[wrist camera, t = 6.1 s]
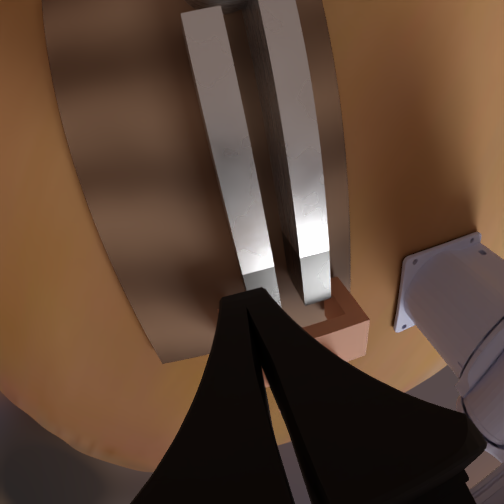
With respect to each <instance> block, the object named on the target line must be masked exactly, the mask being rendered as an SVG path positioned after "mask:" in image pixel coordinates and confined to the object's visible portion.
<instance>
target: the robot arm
mask: <svg viewBox="0 0 504 504" xmlns="http://www.w3.org/2000/svg"><path fill="white" fill-rule="evenodd" d="M480 241H481V233H479V232H474V233H472V234H469V235H466V236H463V237H461V238H458V239H455V240H452V241H450V242H447V243H444V244H441V245H438V246H435V247H433V248H430V249H427V250H424V251H421V252H418V253H415V254H412V255H409V256H407V257H406V258H405V259H404V260H403V265H402V274H401V282H400V290H399V297H398V304H397V310H396V316H395V322H394V331H395V332H400V331H403V330H405V329H407V328H410V327H412V326H414V325H416V326H417V327H418V328H419V330H420V331H421V332H422V333H423V334H424V336H425V337H426V338H427V339H428V341H429V342H430V343H431V344H432V345H433V347H434V348H435V349H436V350H437V352H438V353H439V354H440V355H441V357H442V358H443V359H444V360H445V362H446V363H447V364H448V366H449V367H450V368H451V369H452V371H453V372H454V373H455V375H456V376H457V377H458V378H459V381H458V382H457V384H456V385H455V388H456V390H457V391H458V393H459V394H460V395H459V397H458V398H457V402H456V409H457V411H453V410H450V409H447V408H444V407H441V406H438V405H435V404H432V403H429V402H426V401H423V400H420V399H418V398H416V397H413V396H411V395H408V394H406V393H403V392H401V391H399V390H397V389H395V388H393V387H391V386H389V385H387V384H385V383H383V382H381V381H379V380H377V379H375V378H373V377H371V376H369V375H367V374H366V373H364V372H362V371H361V370H359V369H357V368H355V367H354V366H352V365H351V364H349V363H348V362H346V361H344V360H343V359H341V358H340V357H338V356H337V355H336V354H334V353H333V352H331V351H330V350H329V349H327V348H326V347H325V346H323V345H322V344H321V343H320V342H318V341H317V340H316V339H315V338H313V337H312V336H311V335H310V334H309V333H307V332H306V331H305V330H304V329H303V328H302V327H301V326H300V325H298V324H297V323H296V322H295V321H294V320H293V319H292V318H291V317H290V316H289V315H288V314H287V313H286V312H285V311H284V310H283V309H282V308H281V307H280V306H279V305H278V304H277V302H276V301H275V300H274V299H273V298H272V297H271V295H270V294H269V293H268V291H267V290H266V289H265V288H263V287H260V288H256V289H252V290H248V291H244V292H240V293H237V294H233V295H229V296H225V297H222V298H221V299H220V301H219V313H218V320H217V325H216V331H215V335H214V339H213V343H212V347H211V351H210V355H209V358H208V361H207V364H206V367H205V370H204V373H203V376H202V379H201V382H200V385H199V387H198V390H197V392H196V395H195V397H194V400H193V402H192V404H191V407H190V409H189V411H188V413H187V415H186V417H185V419H184V421H183V423H182V425H181V427H180V429H179V431H178V433H177V435H176V437H175V439H174V440H173V442H172V444H171V445H170V447H169V449H168V450H167V452H166V454H165V455H164V457H163V458H162V460H161V462H160V463H159V465H158V466H157V468H156V470H155V471H154V473H153V474H152V476H151V477H150V479H149V480H148V481H147V482H146V484H145V485H144V486H143V488H142V489H141V490H140V492H139V493H138V494H137V496H136V497H135V498H134V500H133V501H132V502H131V503H130V504H295V502H294V499H293V496H292V492H291V489H290V486H289V483H288V479H287V477H286V473H285V470H284V466H283V463H282V460H281V456H280V453H279V450H278V446H277V443H276V439H275V435H274V431H273V427H272V421H271V416H270V410H269V405H268V399H267V394H266V388H265V383H264V377H263V371H264V374H265V376H266V379H267V381H268V383H269V386H270V388H271V391H272V393H273V396H274V398H275V400H276V403H277V405H278V407H279V410H280V412H281V415H282V417H283V419H284V422H285V424H286V427H287V429H288V432H289V435H290V438H291V441H292V444H293V447H294V450H295V454H296V457H297V460H298V463H299V466H300V469H301V472H302V476H303V479H304V482H305V485H306V488H307V491H308V494H309V498H310V501H311V504H504V260H503V259H502V258H501V257H499V256H498V255H497V254H495V253H494V252H492V251H491V250H490V249H488V248H487V247H486V246H484V245H483V244H481V243H480ZM262 369H263V371H262ZM483 451H487V452H489V453H490V454H491V455H493V456H494V457H495V458H496V459H498V460H499V461H500V462H501V463H502V464H501V465H500V466H499V467H497V468H496V469H495V470H494V471H493V472H491V473H490V474H489V475H488V476H486V477H485V478H484V479H483V480H481V481H480V482H478V483H477V484H476V485H474V486H473V487H472V488H470V489H468V487H467V485H466V483H465V482H467V481H468V480H469V477H468V475H467V473H466V472H465V470H464V469H465V468H466V467H467V466H468V465H469V464H471V462H473V461H474V460H475V459H476V458H477V457H478V456H479V455H480V454H482V452H483Z"/></svg>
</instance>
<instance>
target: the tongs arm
mask: <svg viewBox="0 0 504 504" xmlns="http://www.w3.org/2000/svg"><path fill="white" fill-rule="evenodd" d="M181 23H182V32H183V36H184V41H185V45H186V50H187V54H188V59H189V63H190V67H191V72H192V76H193V81H194V85H195V89H196V94H197V98H198V102H199V107H200V111H201V115H202V119H203V124H204V128H205V132H206V136H207V140H208V145H209V149H210V153H211V157H212V161H213V165H214V169H215V174H216V178H217V182H218V186H219V190H220V194H221V198H222V202H223V206H224V210H225V214H226V218H227V222H228V226H229V230H230V234H231V238H232V242H233V246H234V250H235V254H236V258H237V261H238V265H239V269H240V273H241V277H242V281H243V285H244V289H245V291H248V290H252V289H256V288H260V287H263V288H265V289H266V290H267V291H268V293H269V294H270V295H271V297H272V298H273V299H274V300H275V301H276V302H277V304H278V305H279V306H280V307H281V301H280V296H279V290H278V284H277V279H276V273H275V268H274V262H273V257H272V252H271V246H270V241H269V236H268V230H267V225H266V220H265V215H264V209H263V204H262V199H261V194H260V189H259V184H258V178H257V173H256V168H255V163H254V158H253V153H252V148H251V143H250V139H249V134H248V129H247V124H246V119H245V114H244V110H243V105H242V100H241V95H240V91H239V86H238V81H237V76H236V72H235V67H234V63H233V58H232V54H231V49H230V44H229V40H228V35H227V31H226V27H225V22H224V18H223V13H222V9H221V6H215V7H210V8H204V9H199V10H194V11H189V12H185V13H181ZM281 308H282V307H281Z"/></svg>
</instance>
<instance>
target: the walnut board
mask: <svg viewBox="0 0 504 504" xmlns="http://www.w3.org/2000/svg"><path fill="white" fill-rule="evenodd" d="M295 1H296V5H297V10H298V14H299V19H300V24H301V28H302V33H303V38H304V44H305V49H306V54H307V60H308V65H309V71H310V77H311V83H312V90H313V96H314V103H315V110H316V117H317V124H318V132H319V140H320V148H321V157H322V166H323V176H324V186H325V197H326V209H327V223H328V238H329V256H330V278H333V277H338V278H339V279H340V280H341V282H342V283H343V284H344V286H345V287H346V288H347V290H348V291H349V292H350V217H349V195H348V179H347V165H346V153H345V142H344V132H343V123H342V114H341V106H340V98H339V91H338V84H337V77H336V71H335V65H334V59H333V53H332V48H331V42H330V37H329V32H328V27H327V22H326V17H325V13H324V8H323V4H322V0H295ZM194 10H197V9H195V8H193V7H191V6H190V5H189V4H187V3H186V1H185V0H42V11H43V21H44V30H45V38H46V45H47V52H48V58H49V64H50V70H51V75H52V80H53V85H54V90H55V95H56V99H57V104H58V108H59V112H60V116H61V120H62V124H63V128H64V132H65V135H66V139H67V142H68V146H69V149H70V153H71V156H72V159H73V163H74V166H75V169H76V172H77V175H78V178H79V181H80V184H81V187H82V190H83V193H84V196H85V199H86V201H87V204H88V207H89V210H90V212H91V215H92V218H93V220H94V223H95V225H96V228H97V230H98V233H99V235H100V238H101V240H102V243H103V245H104V247H105V250H106V252H107V255H108V257H109V259H110V261H111V264H112V266H113V268H114V270H115V273H116V275H117V277H118V279H119V281H120V283H121V286H122V288H123V290H124V292H125V294H126V296H127V298H128V300H129V302H130V304H131V306H132V308H133V310H134V312H135V314H136V316H137V318H138V320H139V322H140V324H141V326H142V328H143V330H144V331H145V333H146V335H147V337H148V339H149V341H150V342H151V344H152V346H153V348H154V350H155V351H156V353H157V355H158V357H159V358H160V360H161V362H162V364H164V363H169V362H174V361H179V360H184V359H189V358H193V357H198V356H202V355H207V354H210V351H211V347H212V343H213V339H214V335H215V331H216V325H217V320H218V309H219V301H220V299H221V298H222V297H225V296H229V295H233V294H237V293H240V292H244V291H245V289H244V285H243V281H242V277H241V273H240V269H239V265H238V261H237V258H236V254H235V250H234V246H233V242H232V238H231V234H230V230H229V226H228V222H227V218H226V214H225V210H224V206H223V202H222V198H221V194H220V190H219V186H218V182H217V178H216V174H215V169H214V165H213V161H212V157H211V153H210V149H209V145H208V140H207V136H206V132H205V128H204V124H203V119H202V115H201V111H200V107H199V102H198V98H197V94H196V89H195V85H194V81H193V76H192V72H191V67H190V63H189V59H188V54H187V50H186V45H185V41H184V36H183V32H182V23H181V13H185V12H189V11H194ZM223 18H224V22H225V27H226V31H227V35H228V40H229V44H230V49H231V54H232V58H233V63H234V67H235V72H236V76H237V81H238V86H239V91H240V95H241V100H242V105H243V110H244V114H245V119H246V124H247V129H248V134H249V139H250V143H251V148H252V153H253V158H254V163H255V168H256V173H257V178H258V184H259V189H260V194H261V199H262V204H263V209H264V215H265V220H266V225H267V230H268V236H269V241H270V246H271V252H272V257H273V262H274V268H275V273H276V279H277V284H278V290H279V296H280V301H281V307H282V309H283V310H284V311H285V312H286V313H287V314H288V315H289V316H290V317H291V318H292V319H293V320H294V321H295V322H296V323H297V324H298V325H300V326H301V327H302V328H303V327H306V326H309V325H313V324H316V323H319V322H322V321H325V320H327V318H326V317H325V312H324V301H320V302H317V303H314V304H310V305H307V306H305V305H304V303H303V301H302V300H301V298H300V296H299V294H298V292H297V290H296V289H295V287H294V285H293V283H292V281H291V279H290V277H289V276H288V273H287V265H286V258H285V251H284V244H283V237H282V231H281V224H280V217H279V211H278V204H277V198H276V192H275V185H274V179H273V173H272V167H271V161H270V155H269V149H268V143H267V137H266V132H265V126H264V120H263V115H262V109H261V104H260V98H259V93H258V87H257V82H256V77H255V72H254V67H253V61H252V56H251V51H250V46H249V41H248V37H247V32H246V27H245V22H244V17H243V13H242V9H241V10H239V11H236V12H233V13H228V14H223Z"/></svg>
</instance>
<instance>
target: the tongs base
mask: <svg viewBox="0 0 504 504" xmlns="http://www.w3.org/2000/svg"><path fill="white" fill-rule="evenodd" d="M185 1H186V3H187V4H189V5H190V6H191V7H193V8H195V9H197V10H199V9H204V8H210V7H215V6H221V9H222V13H223V14H228V13H233V12H236V11H239V10H241V9H242V13H243V17H244V22H245V27H246V32H247V37H248V41H249V46H250V51H251V56H252V61H253V67H254V72H255V77H256V82H257V87H258V93H259V98H260V104H261V109H262V115H263V120H264V126H265V132H266V137H267V143H268V149H269V155H270V161H271V167H272V173H273V179H274V185H275V192H276V198H277V204H278V211H279V217H280V224H281V231H282V237H283V244H284V251H285V258H286V265H287V273H288V276H289V277H290V279H291V281H292V283H293V285H294V287H295V289H296V290H297V292H298V294H299V296H300V298H301V300H302V301H303V303H304V305H305V306H307V305H310V304H314V303H317V302H320V301H324V300H327V299H330V298H331V278H330V256H329V238H328V223H327V209H326V197H325V186H324V176H323V166H322V157H321V148H320V140H319V132H318V124H317V117H316V110H315V103H314V96H313V90H312V83H311V77H310V71H309V65H308V60H307V54H306V49H305V44H304V38H303V33H302V28H301V24H300V19H299V14H298V10H297V5H296V1H295V0H185Z"/></svg>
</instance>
